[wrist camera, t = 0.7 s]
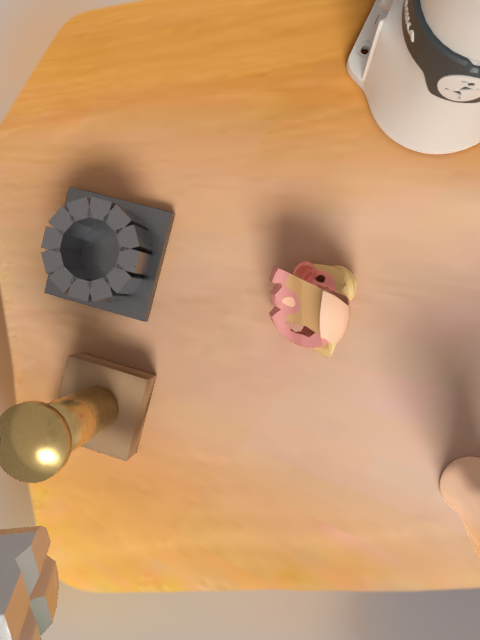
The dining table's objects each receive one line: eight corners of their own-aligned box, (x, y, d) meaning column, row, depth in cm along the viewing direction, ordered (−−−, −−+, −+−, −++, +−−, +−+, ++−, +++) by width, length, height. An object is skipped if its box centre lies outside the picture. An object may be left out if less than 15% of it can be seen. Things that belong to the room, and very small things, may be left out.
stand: (82, 352, 51) (68, 355, 48) (156, 375, 50) (147, 379, 47) (63, 428, 52) (49, 435, 49) (136, 451, 50) (126, 461, 47)
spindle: (76, 370, 48) (2, 393, 36) (132, 388, 47) (75, 416, 35) (62, 427, 48) (-16, 468, 36) (117, 445, 48) (56, 493, 36)
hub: (74, 189, 50) (49, 176, 45) (174, 214, 49) (160, 204, 44) (49, 292, 51) (22, 291, 46) (147, 321, 50) (130, 323, 45)
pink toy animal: (326, 237, 47) (396, 265, 40) (323, 319, 52) (385, 358, 45) (252, 258, 44) (314, 294, 36) (256, 345, 48) (312, 392, 41)
